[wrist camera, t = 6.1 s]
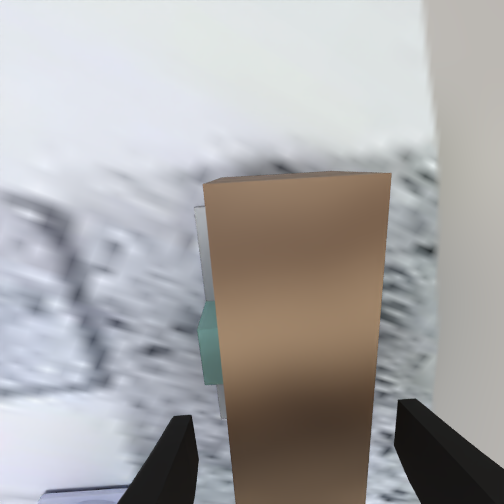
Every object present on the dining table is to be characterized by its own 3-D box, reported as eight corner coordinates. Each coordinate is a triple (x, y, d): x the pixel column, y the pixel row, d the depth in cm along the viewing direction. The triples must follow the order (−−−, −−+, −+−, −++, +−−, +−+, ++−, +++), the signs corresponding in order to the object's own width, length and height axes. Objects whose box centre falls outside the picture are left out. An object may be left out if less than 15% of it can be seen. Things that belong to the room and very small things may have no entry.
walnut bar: (325, 451, 16) (359, 574, 11) (244, 455, 16) (243, 581, 11) (331, 171, 12) (391, 172, 7) (221, 177, 12) (202, 184, 7)
